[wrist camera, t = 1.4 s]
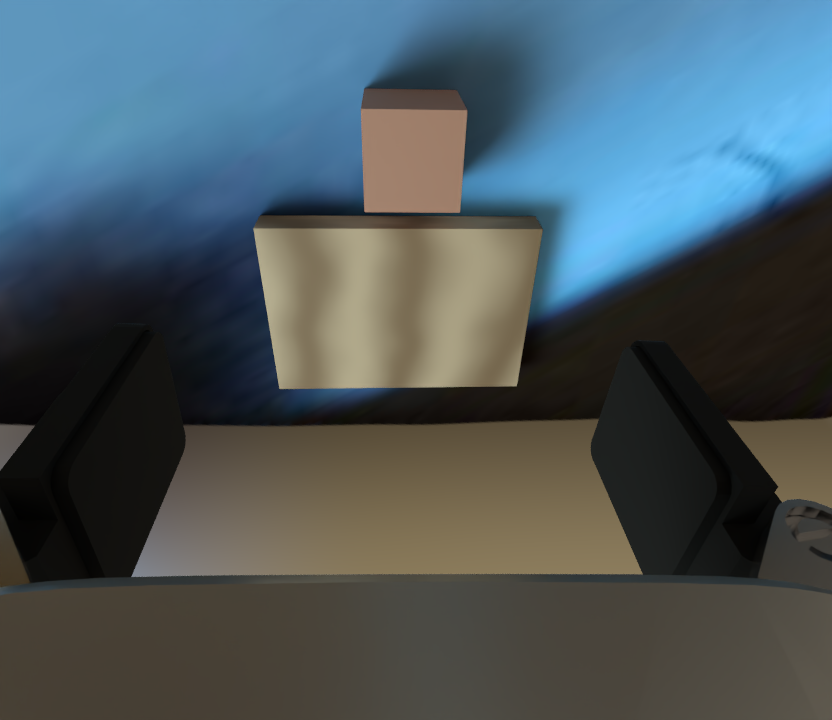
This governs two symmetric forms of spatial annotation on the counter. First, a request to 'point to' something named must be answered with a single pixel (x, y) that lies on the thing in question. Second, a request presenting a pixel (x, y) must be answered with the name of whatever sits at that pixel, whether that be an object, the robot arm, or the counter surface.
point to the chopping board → (397, 298)
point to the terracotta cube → (413, 150)
